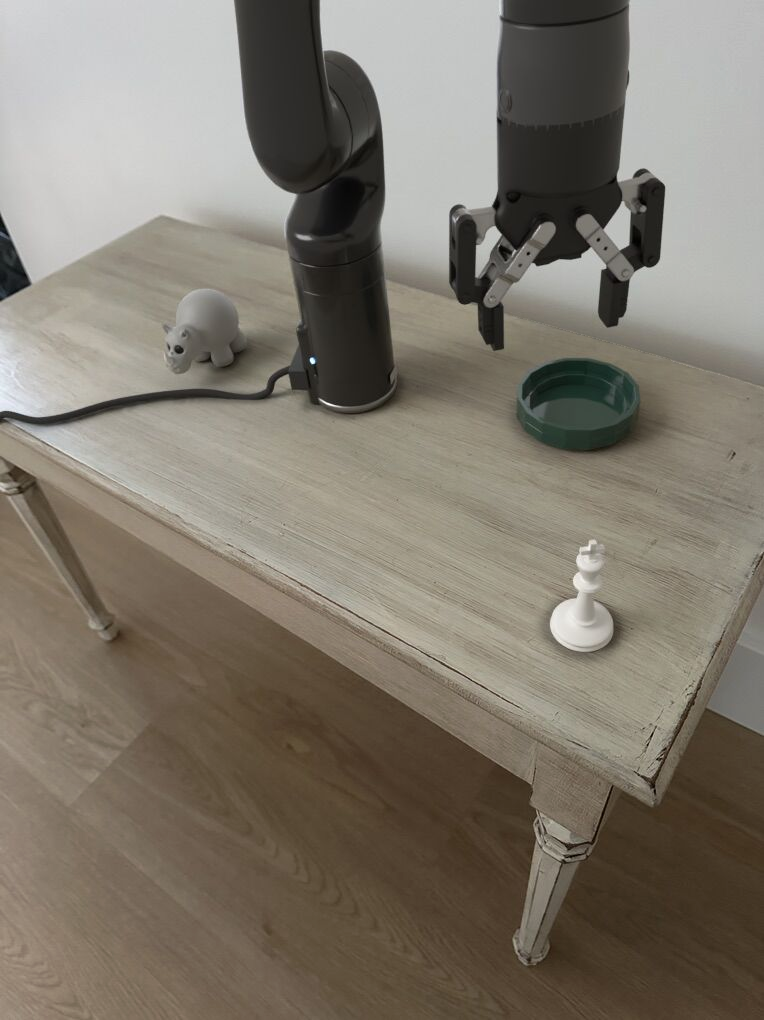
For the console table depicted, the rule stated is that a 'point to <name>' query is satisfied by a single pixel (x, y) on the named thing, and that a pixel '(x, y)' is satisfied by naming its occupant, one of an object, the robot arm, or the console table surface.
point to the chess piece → (584, 607)
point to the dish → (578, 403)
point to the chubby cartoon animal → (203, 331)
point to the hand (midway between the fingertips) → (551, 333)
